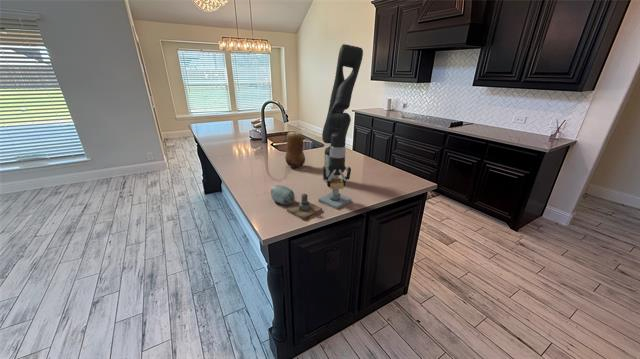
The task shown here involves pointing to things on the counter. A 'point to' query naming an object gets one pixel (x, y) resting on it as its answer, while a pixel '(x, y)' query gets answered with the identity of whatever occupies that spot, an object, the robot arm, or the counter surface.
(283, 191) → the teal-grey streaked oval part
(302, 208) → the stand
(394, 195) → the counter surface
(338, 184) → the square wooden frame
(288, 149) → the butternut squash
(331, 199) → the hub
